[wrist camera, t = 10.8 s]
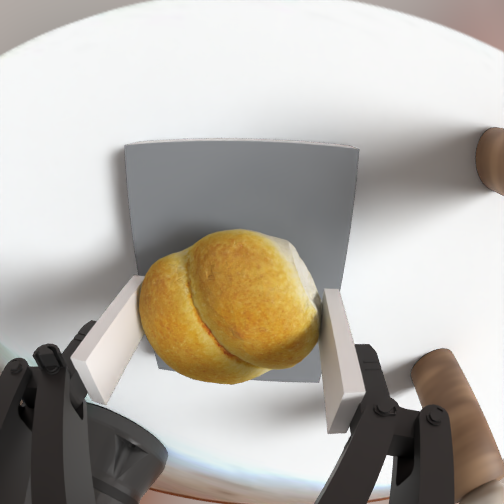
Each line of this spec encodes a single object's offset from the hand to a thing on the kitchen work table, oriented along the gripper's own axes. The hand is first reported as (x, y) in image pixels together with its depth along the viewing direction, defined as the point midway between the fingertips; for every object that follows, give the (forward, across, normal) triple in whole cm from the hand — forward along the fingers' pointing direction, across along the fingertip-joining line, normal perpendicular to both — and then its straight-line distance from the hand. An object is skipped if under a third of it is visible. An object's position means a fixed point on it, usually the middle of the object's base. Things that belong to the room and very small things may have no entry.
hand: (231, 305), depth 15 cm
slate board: (+4, 0, 0) cm, 4 cm away
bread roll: (+1, 0, 0) cm, 1 cm away
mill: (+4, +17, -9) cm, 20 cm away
